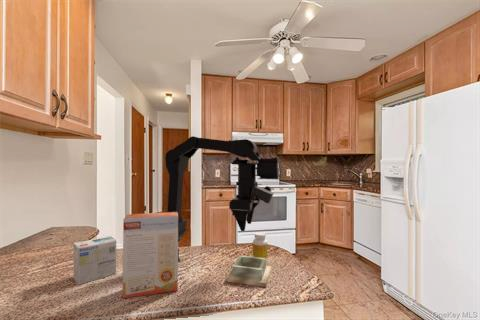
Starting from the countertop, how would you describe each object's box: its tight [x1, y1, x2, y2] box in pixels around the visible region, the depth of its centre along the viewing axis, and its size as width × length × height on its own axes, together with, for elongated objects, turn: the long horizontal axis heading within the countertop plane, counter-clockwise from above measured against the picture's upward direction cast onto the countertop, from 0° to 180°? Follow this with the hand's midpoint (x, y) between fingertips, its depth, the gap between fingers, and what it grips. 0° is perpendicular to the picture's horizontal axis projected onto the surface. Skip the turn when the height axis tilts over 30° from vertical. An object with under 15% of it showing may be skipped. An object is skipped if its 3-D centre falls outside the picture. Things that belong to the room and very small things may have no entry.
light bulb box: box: [73, 235, 117, 286], centre depth 75 cm, size 11×7×11 cm, turn 135°
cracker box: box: [122, 211, 179, 299], centre depth 67 cm, size 14×6×21 cm, turn 106°
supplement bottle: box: [252, 231, 269, 259], centre depth 88 cm, size 5×5×10 cm
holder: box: [225, 254, 272, 288], centre depth 77 cm, size 12×12×4 cm
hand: (246, 227), depth 78 cm, fingers open, 9 cm apart
